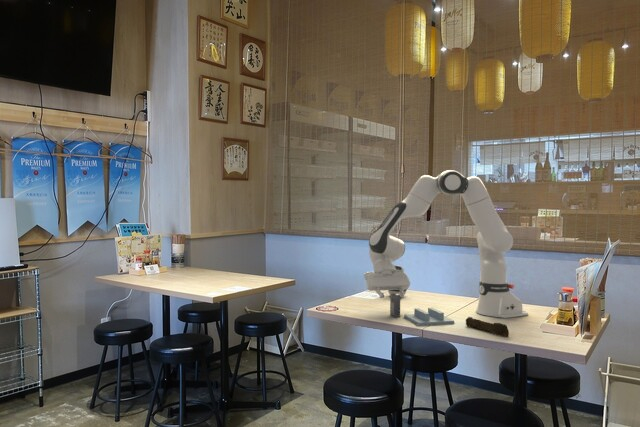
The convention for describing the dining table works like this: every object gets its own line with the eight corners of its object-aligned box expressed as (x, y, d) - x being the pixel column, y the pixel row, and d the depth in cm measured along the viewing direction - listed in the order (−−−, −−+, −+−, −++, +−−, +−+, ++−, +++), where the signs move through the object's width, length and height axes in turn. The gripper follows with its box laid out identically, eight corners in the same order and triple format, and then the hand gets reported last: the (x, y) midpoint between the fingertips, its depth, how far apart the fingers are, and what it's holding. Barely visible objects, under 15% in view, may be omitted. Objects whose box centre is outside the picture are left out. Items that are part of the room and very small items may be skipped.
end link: (396, 315, 211) (396, 292, 210) (400, 317, 207) (400, 294, 206) (390, 315, 210) (390, 292, 210) (393, 317, 206) (394, 294, 206)
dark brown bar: (464, 326, 193) (464, 315, 193) (471, 325, 195) (472, 314, 195) (503, 339, 176) (503, 326, 176) (510, 337, 178) (510, 325, 178)
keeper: (437, 315, 210) (437, 306, 210) (454, 323, 197) (454, 313, 197) (404, 317, 206) (404, 307, 206) (418, 325, 193) (419, 315, 193)
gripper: (364, 268, 216) (372, 293, 206) (406, 267, 221) (415, 292, 212) (361, 276, 220) (368, 301, 211) (402, 275, 225) (410, 300, 216)
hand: (392, 296), depth 211 cm, fingers open, 8 cm apart
